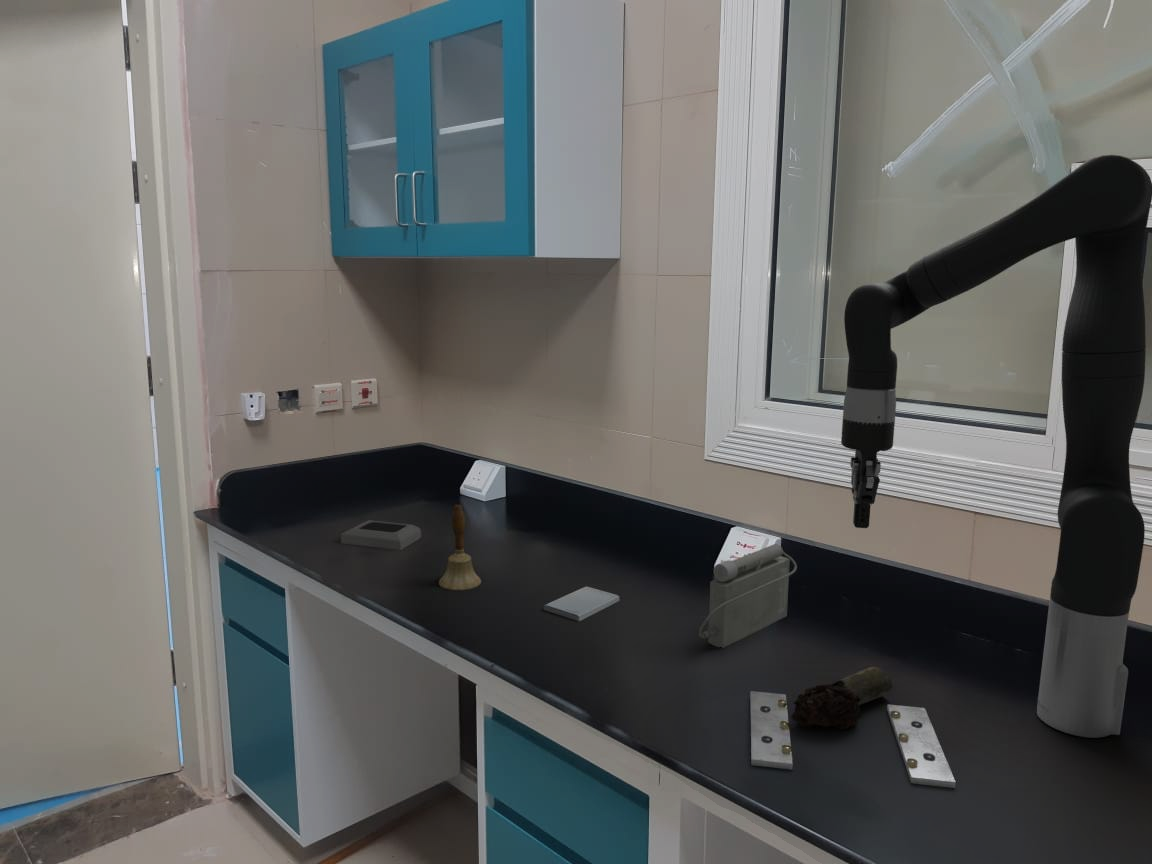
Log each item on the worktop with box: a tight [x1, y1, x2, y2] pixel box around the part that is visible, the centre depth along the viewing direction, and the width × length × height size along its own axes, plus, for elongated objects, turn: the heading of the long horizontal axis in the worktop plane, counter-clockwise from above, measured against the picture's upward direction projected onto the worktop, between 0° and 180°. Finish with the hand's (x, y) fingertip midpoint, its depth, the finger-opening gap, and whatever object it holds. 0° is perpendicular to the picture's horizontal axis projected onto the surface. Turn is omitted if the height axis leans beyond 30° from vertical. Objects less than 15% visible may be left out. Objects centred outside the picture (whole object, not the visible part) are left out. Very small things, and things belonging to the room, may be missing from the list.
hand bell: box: [438, 504, 482, 591], centre depth 167 cm, size 8×8×16 cm
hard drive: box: [543, 586, 620, 622], centre depth 157 cm, size 2×8×12 cm
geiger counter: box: [698, 543, 798, 649], centre depth 144 cm, size 14×6×25 cm
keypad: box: [340, 519, 422, 551], centre depth 194 cm, size 10×4×15 cm
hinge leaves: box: [749, 690, 956, 789], centre depth 113 cm, size 24×18×1 cm
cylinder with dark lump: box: [790, 666, 893, 731], centre depth 119 cm, size 18×7×6 cm, turn 127°
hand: (860, 526), depth 132 cm, fingers closed
